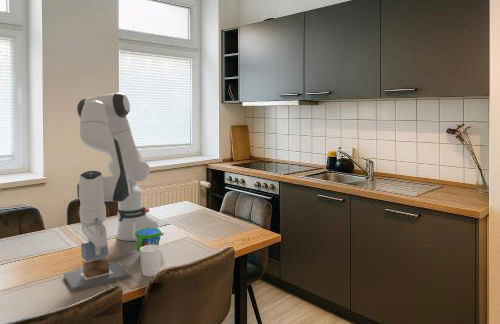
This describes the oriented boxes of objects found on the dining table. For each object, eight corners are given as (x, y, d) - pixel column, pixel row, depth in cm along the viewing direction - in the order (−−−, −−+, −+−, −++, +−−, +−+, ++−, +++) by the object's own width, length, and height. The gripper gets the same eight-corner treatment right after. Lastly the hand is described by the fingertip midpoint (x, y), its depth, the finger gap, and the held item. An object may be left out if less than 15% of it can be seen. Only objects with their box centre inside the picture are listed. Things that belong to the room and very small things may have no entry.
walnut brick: (105, 268, 153) (104, 256, 152) (109, 272, 149) (108, 260, 148) (83, 273, 148) (82, 261, 147) (87, 278, 144) (86, 265, 144)
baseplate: (117, 264, 160) (117, 261, 160) (129, 277, 149) (129, 273, 149) (64, 277, 148) (63, 273, 148) (73, 291, 137) (72, 287, 137)
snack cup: (150, 246, 181) (149, 224, 180) (169, 249, 177) (169, 227, 176) (127, 258, 167) (126, 235, 166) (147, 262, 163) (146, 238, 161)
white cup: (163, 268, 157) (162, 244, 155) (159, 277, 149) (158, 251, 148) (143, 268, 157) (142, 244, 155) (138, 277, 149) (137, 252, 147)
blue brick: (103, 251, 152) (102, 239, 151) (108, 255, 148) (107, 242, 148) (81, 257, 146) (81, 244, 146) (86, 260, 143) (85, 247, 142)
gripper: (110, 221, 139) (112, 259, 141) (94, 208, 155) (96, 242, 157) (92, 224, 135) (94, 263, 137) (77, 211, 151) (79, 245, 153)
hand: (95, 252), depth 147 cm, fingers closed on blue brick, 5 cm apart
